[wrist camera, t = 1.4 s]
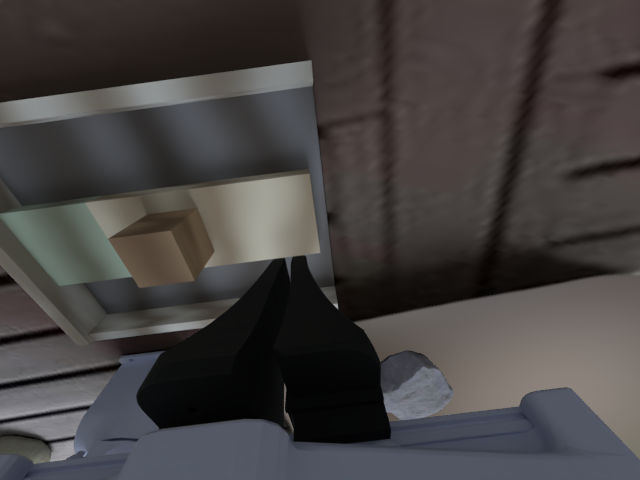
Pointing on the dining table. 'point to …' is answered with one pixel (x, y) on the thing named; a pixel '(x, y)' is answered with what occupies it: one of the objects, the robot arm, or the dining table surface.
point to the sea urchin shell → (25, 448)
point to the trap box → (161, 193)
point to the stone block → (413, 386)
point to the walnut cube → (164, 247)
